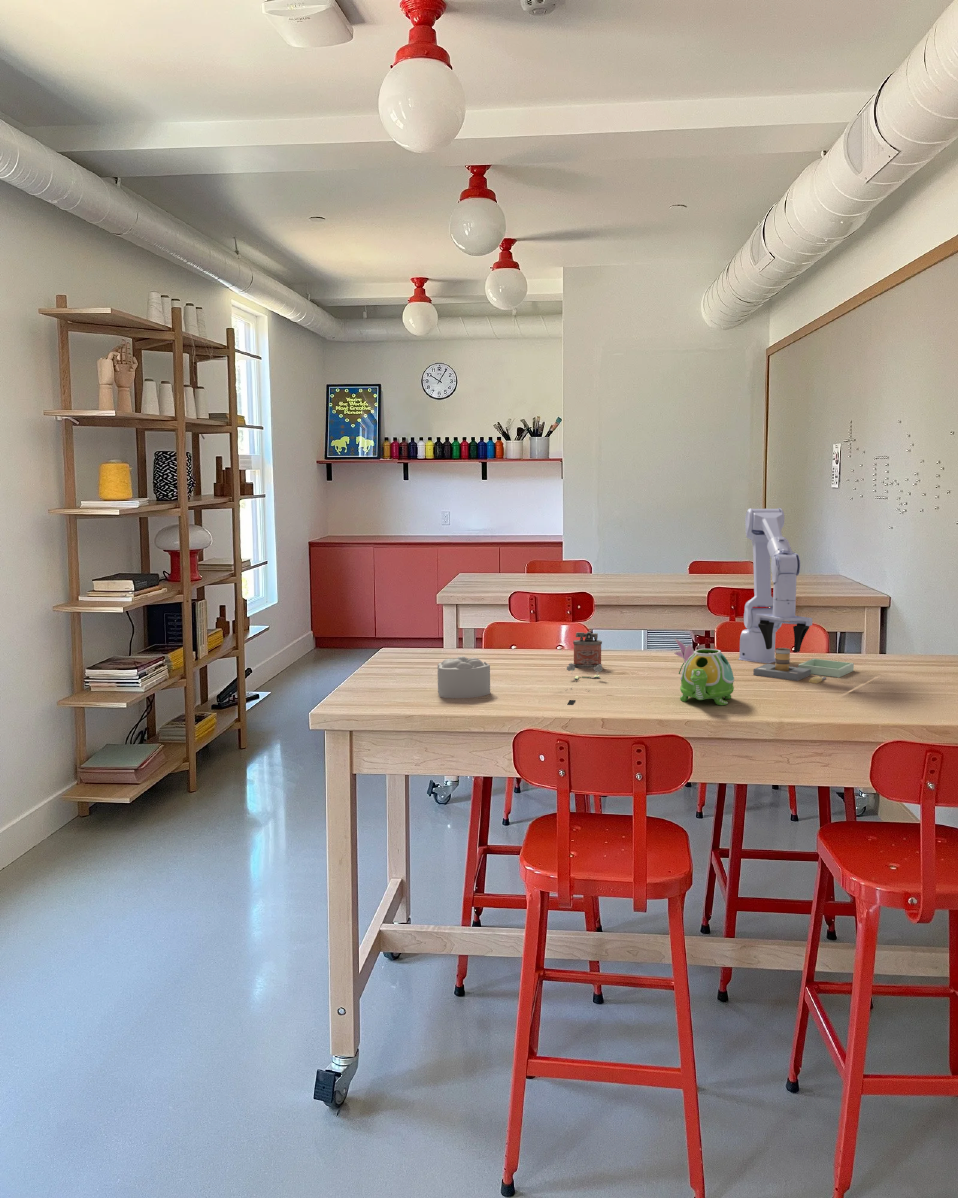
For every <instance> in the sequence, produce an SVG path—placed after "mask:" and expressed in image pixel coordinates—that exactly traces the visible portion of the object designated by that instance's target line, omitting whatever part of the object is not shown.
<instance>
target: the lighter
mask: <svg viewBox="0 0 958 1198" xmlns="http://www.w3.org/2000/svg"><path fill="white" fill-rule="evenodd" d="M575 637H576V638H579V639H574V640H573V641H572V643H573V663H572V664H574V666H575V669H594V667H597V665H599V664H601V665H602V666H603V663H602V645H603V641H602V640H600V639H599V640H598V633H597V632H595V633H594V632H591V631H586V632H579V631H578V632H577V631H576V633H575Z"/></svg>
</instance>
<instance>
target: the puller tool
mask: <svg viewBox="0 0 958 1198" xmlns="http://www.w3.org/2000/svg"><path fill="white" fill-rule="evenodd" d="M826 679H827V676H822V675H819V676H814V677H811V678H809V683H812V684H819V683H821V682H822V681H824V680H826Z"/></svg>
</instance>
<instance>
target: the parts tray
mask: <svg viewBox="0 0 958 1198" xmlns="http://www.w3.org/2000/svg"><path fill="white" fill-rule="evenodd" d="M854 665H855V663H854V662H848V661H847V662H846V661H839V660H838V661H837V660H830V659H821V658H814V657H813V658H812V659H811V658H810V659H809V660H805V661H804V662H801V663H798V666H797V667H798V668H806V669H811V675H817V676H821V677H831V678H838V679H840V678H841V677H843V676H846V675H848V674H849V673H852V672H854V669H855V668H854V667H855V666H854Z"/></svg>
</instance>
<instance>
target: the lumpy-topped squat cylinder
mask: <svg viewBox="0 0 958 1198" xmlns="http://www.w3.org/2000/svg"><path fill="white" fill-rule="evenodd" d="M437 693H438V697H440V698H444V699H470V698H479V697H484V696H487V695H489V694H491V664H490V663H487V662H486V661H484V662H483V661H482V660H481V659H479V658H476V657H470V658H467V657H466V656H462V655H461V656H457V657H456V658H445V659H444V660H442V661H441V662H439V663H437Z"/></svg>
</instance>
